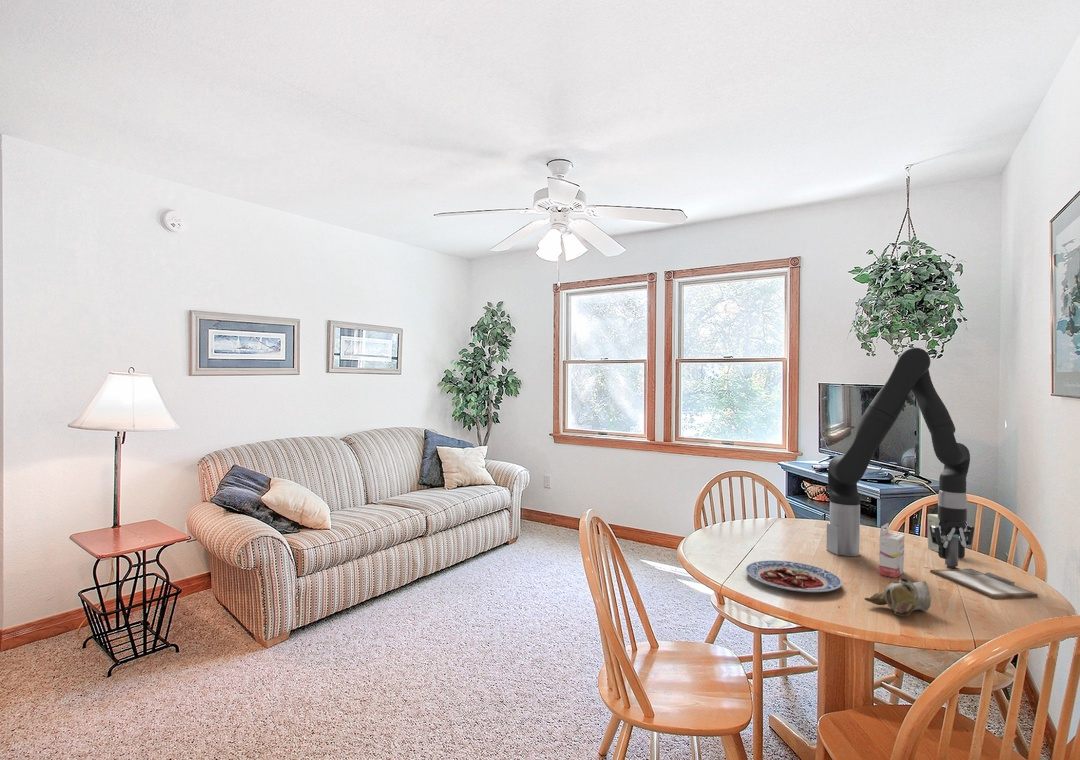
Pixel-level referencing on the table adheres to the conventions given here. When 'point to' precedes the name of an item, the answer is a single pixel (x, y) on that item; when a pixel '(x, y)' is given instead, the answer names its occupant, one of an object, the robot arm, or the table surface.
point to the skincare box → (932, 521)
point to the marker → (952, 552)
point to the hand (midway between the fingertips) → (951, 557)
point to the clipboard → (984, 583)
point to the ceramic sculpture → (903, 597)
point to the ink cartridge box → (891, 553)
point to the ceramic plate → (793, 576)
